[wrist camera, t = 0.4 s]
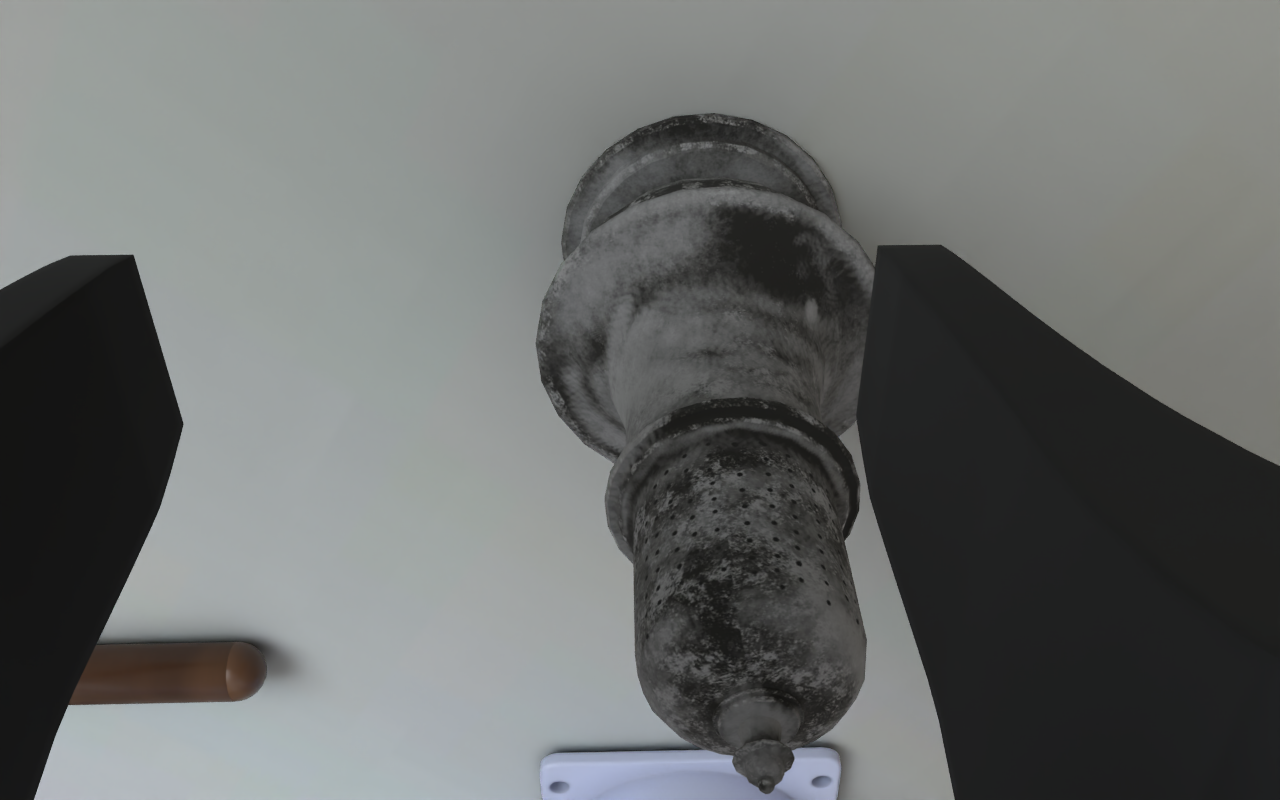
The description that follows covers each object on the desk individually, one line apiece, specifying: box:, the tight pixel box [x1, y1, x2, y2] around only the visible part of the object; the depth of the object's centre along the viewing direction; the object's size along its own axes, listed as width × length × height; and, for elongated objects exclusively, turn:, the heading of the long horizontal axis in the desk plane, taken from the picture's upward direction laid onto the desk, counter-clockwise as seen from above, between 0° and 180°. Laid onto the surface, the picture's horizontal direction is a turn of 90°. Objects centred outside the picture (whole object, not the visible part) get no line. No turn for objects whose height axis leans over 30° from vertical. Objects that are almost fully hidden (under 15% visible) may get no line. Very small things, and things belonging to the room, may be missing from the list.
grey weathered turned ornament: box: [536, 113, 875, 794], centre depth 17 cm, size 6×6×12 cm
